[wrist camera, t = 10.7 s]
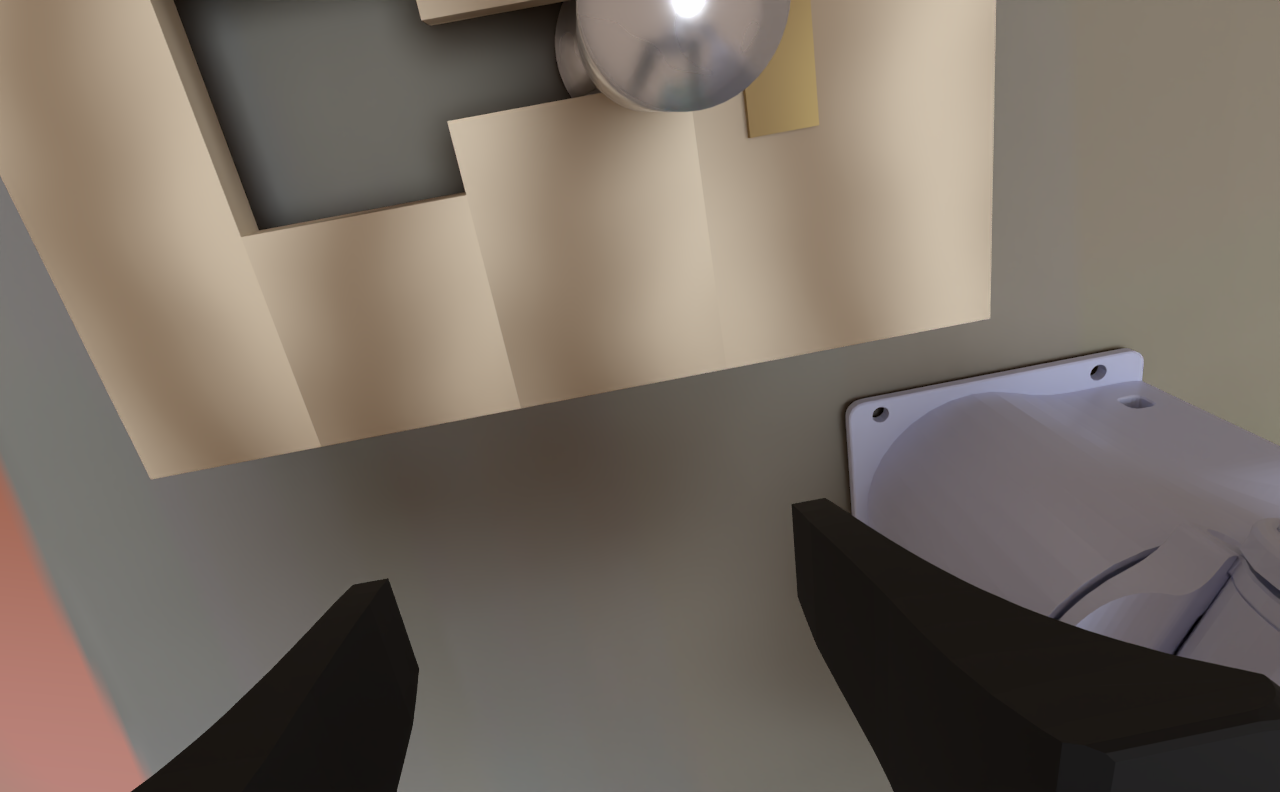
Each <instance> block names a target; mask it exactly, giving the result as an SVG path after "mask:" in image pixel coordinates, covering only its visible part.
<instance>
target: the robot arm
mask: <svg viewBox="0 0 1280 792" xmlns="http://www.w3.org/2000/svg"><path fill="white" fill-rule="evenodd" d="M1097 365H1098V369H1097V371H1096V372H1095V373H1094V374H1093V375H1091V376H1090V373H1091V370H1092V369H1093V368H1094V367H1095V366H1097ZM1143 366H1144V360H1143V357H1142V355H1141V354H1140V353H1138V352H1136V351H1134V350H1132V349H1129V348H1122V349H1117V350H1112V351H1106V352H1101V353H1096V354H1091V355H1086V356H1081V357H1075V358H1070V359H1065V360H1060V361H1055V362H1050V363H1044V364H1039V365H1034V366H1029V367H1024V368H1018V369H1013V370H1008V371H1003V372H998V373H993V374H987V375H982V376H977V377H972V378H967V379H961V380H956V381H951V382H946V383H941V384H936V385H930V386H925V387H920V388H915V389H910V390H905V391H899V392H894V393H889V394H884V395H879V396H873V397H868V398H863V399H859V400H856V401H854V402H853V403H852V404H850V405H849V407H848V409H847V410H846V416H845V417H846V432H847V447H848V462H849V478H850V493H851V508H852V515H851V514H849V513H848V512H846V511H845V510H843V509H842V508H840V507H839V506H837V505H835V504H834V503H832V502H831V501H829V500H827V499H826V498H823V499H817V500H812V501H806V502H801V503H795V504H792V517H793V532H794V547H795V563H796V578H797V593H798V598H799V601H800V604H801V606H802V609H803V612H804V614H805V617H806V620H807V622H808V625H809V627H810V630H811V632H812V635H813V637H814V640H815V642H816V645H817V647H818V649H819V651H820V653H821V654H822V656H823V658H824V660H825V662H826V664H827V666H828V668H829V669H830V671H831V673H832V675H833V677H834V679H835V681H836V682H837V684H838V686H839V688H840V690H841V692H842V693H843V695H844V697H845V699H846V701H847V702H848V704H849V706H850V708H851V710H852V712H853V713H854V715H855V717H856V719H857V721H858V723H859V724H860V726H861V728H862V730H863V732H864V734H865V735H866V737H867V739H868V741H869V743H870V745H871V746H872V748H873V750H874V752H875V754H876V756H877V758H878V760H879V762H880V764H881V766H882V768H883V770H884V772H885V774H886V776H887V778H888V780H889V782H890V784H891V787H892V789H893V791H894V792H1280V446H1278V445H1276V444H1274V443H1272V442H1270V441H1268V440H1266V439H1264V438H1262V437H1259V436H1257V435H1255V434H1253V433H1251V432H1249V431H1247V430H1245V429H1242V428H1240V427H1238V426H1236V425H1234V424H1232V423H1230V422H1228V421H1226V420H1223V419H1221V418H1219V417H1217V416H1215V415H1213V414H1211V413H1209V412H1206V411H1204V410H1202V409H1200V408H1198V407H1196V406H1194V405H1192V404H1190V403H1187V402H1185V401H1183V400H1181V399H1179V398H1177V397H1175V396H1173V395H1170V394H1168V393H1166V392H1164V391H1162V390H1160V389H1158V388H1156V387H1154V386H1151V385H1149V384H1147V383H1145V382H1143V381H1142V375H1143ZM879 407H884V410H883V413H882V414H881V415H880V416H878V417H872V415H873V412H874V411H875V410H876V409H877V408H879ZM418 674H419V667H418V664H417V661H416V658H415V656H414V653H413V650H412V647H411V644H410V641H409V638H408V635H407V632H406V629H405V626H404V623H403V620H402V617H401V614H400V612H399V609H398V606H397V603H396V600H395V597H394V594H393V591H392V588H391V585H390V582H389V579H383V580H377V581H372V582H366V583H361V584H355V585H353V586H352V587H350V588H349V589H348V590H347V591H346V592H345V593H344V594H343V595H342V596H341V597H340V598H339V599H338V600H337V601H336V602H335V603H334V604H333V605H332V606H331V607H330V609H329V610H328V611H327V612H326V613H325V614H324V615H323V616H322V617H321V618H320V619H319V620H318V621H317V622H316V623H315V624H314V626H313V627H312V628H311V629H310V630H309V631H308V632H307V633H306V634H305V635H304V636H303V637H302V638H301V639H300V640H299V641H298V642H297V643H296V644H295V645H294V647H293V648H292V649H291V650H290V651H289V652H288V653H287V654H286V655H285V656H284V657H283V658H282V659H281V660H280V661H279V662H278V663H277V664H276V665H275V666H274V667H273V668H272V669H271V670H270V671H269V672H268V673H267V674H266V675H265V676H264V677H263V678H262V679H261V680H260V681H259V682H258V683H257V684H256V685H255V686H254V687H253V688H252V689H251V690H250V691H249V692H248V693H247V694H245V695H244V696H243V697H242V698H241V699H240V700H239V701H238V702H237V703H236V704H235V705H234V706H233V707H232V708H231V709H230V710H229V711H228V712H227V713H226V714H225V715H224V716H223V717H221V718H220V719H219V720H218V721H217V722H216V723H215V724H214V725H213V726H211V727H210V728H209V729H208V730H207V731H206V732H205V733H203V734H202V735H201V736H200V737H199V738H198V739H197V740H195V741H194V742H193V743H192V744H191V745H189V746H188V747H187V748H186V749H185V750H183V751H182V752H181V753H180V754H179V755H177V756H176V757H175V758H174V759H173V760H171V761H170V762H169V763H168V764H167V765H165V766H164V767H163V768H162V769H160V770H159V771H158V772H157V773H155V774H154V775H153V776H152V777H150V778H149V779H148V780H146V781H145V782H143V783H142V784H141V785H139V786H138V787H137V788H135V789H134V790H133V791H131V792H397V788H398V784H399V780H400V776H401V772H402V768H403V764H404V759H405V755H406V751H407V747H408V743H409V739H410V735H411V730H412V726H413V719H414V711H415V703H416V694H417V684H418Z"/></svg>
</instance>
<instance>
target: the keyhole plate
mask: <svg viewBox="0 0 1280 792" xmlns="http://www.w3.org/2000/svg"><path fill="white" fill-rule="evenodd" d="M563 1H569V0H416V2H417V5H418V9H419V13H420V17H421V21H423V22H425V23H426V24H428V25H430V26H432V25H438V24H443V23H449V22H454V21H460V20H465V19H470V18H476V17H481V16H487V15H492V14H498V13H503V12H509V11H514V10H520V9H525V8H531V7H536V6H542V5H547V4H552V3H558V2H563ZM995 30H996V0H791V2H790V10H789V15H788V20H787V24H786V27H785V30H784V33H783V36H782V39H781V41H780V43H779V45H778V48H777V50H776V52H775V54H774V55H773V57H772V59H771V60H770V62H769V63H768V65H767V66H766V68H765V69H764V70H763V71H762V73H761V74H760V75H759V76H758V77H757V78H756V79H755V80H754V81H753V82H752V83H751V84H750V85H749V86H748V87H747V88H746V89H744V90H743V91H742V92H740V93H739V94H738V95H736V96H735V97H733V98H731V99H729V100H728V101H726V102H724V103H721V104H719V105H716V106H714V107H711V108H707V109H703V110H699V111H689V112H640V111H634V110H631V109H628V108H625V107H623V106H621V105H618V104H616V103H615V102H613V101H612V100H610V99H609V98H607V97H606V96H605V95H604V94H603V93H597V94H592V95H586V96H581V97H575V98H570V99H565V100H559V101H554V102H548V103H543V104H538V105H532V106H527V107H521V108H516V109H511V110H505V111H500V112H494V113H489V114H484V115H478V116H473V117H467V118H462V119H457V120H451V121H447V122H448V126H449V130H450V134H451V138H452V142H453V146H454V149H455V153H456V157H457V161H458V165H459V169H460V173H461V177H462V181H463V185H464V188H465V192H462V193H457V194H452V195H446V196H441V197H436V198H430V199H425V200H420V201H414V202H409V203H404V204H398V205H393V206H388V207H382V208H377V209H371V210H366V211H361V212H355V213H350V214H345V215H339V216H334V217H329V218H323V219H318V220H313V221H307V222H302V223H296V224H291V225H286V226H280V227H275V228H270V229H264V230H259V229H258V226H257V224H256V221H255V218H254V216H253V213H252V210H251V208H250V205H249V202H248V199H247V197H246V194H245V191H244V189H243V186H242V183H241V181H240V178H239V175H238V173H237V170H236V167H235V165H234V162H233V159H232V156H231V154H230V151H229V148H228V146H227V143H226V140H225V138H224V135H223V132H222V130H221V127H220V124H219V122H218V119H217V116H216V113H215V111H214V108H213V105H212V103H211V100H210V97H209V95H208V92H207V89H206V87H205V84H204V81H203V79H202V76H201V73H200V70H199V68H198V65H197V62H196V60H195V57H194V54H193V52H192V49H191V46H190V44H189V41H188V38H187V36H186V33H185V30H184V27H183V25H182V22H181V19H180V17H179V14H178V11H177V9H176V6H175V3H174V1H173V0H0V176H1V178H2V180H3V182H4V184H5V186H6V188H7V190H8V192H9V194H10V196H11V198H12V200H13V202H14V204H15V206H16V208H17V210H18V212H19V214H20V216H21V218H22V220H23V222H24V224H25V226H26V228H27V230H28V232H29V234H30V237H31V239H32V241H33V243H34V245H35V247H36V249H37V251H38V253H39V255H40V257H41V259H42V261H43V263H44V265H45V267H46V269H47V271H48V273H49V275H50V277H51V279H52V281H53V283H54V285H55V287H56V289H57V291H58V293H59V295H60V297H61V299H62V301H63V303H64V305H65V307H66V309H67V311H68V313H69V315H70V317H71V319H72V321H73V323H74V325H75V327H76V329H77V331H78V333H79V335H80V337H81V339H82V341H83V343H84V345H85V347H86V350H87V352H88V354H89V356H90V358H91V360H92V362H93V364H94V366H95V368H96V370H97V372H98V374H99V376H100V378H101V380H102V382H103V384H104V386H105V388H106V390H107V392H108V394H109V396H110V398H111V400H112V402H113V404H114V406H115V408H116V410H117V412H118V414H119V416H120V418H121V420H122V422H123V424H124V426H125V428H126V430H127V432H128V434H129V436H130V438H131V440H132V442H133V444H134V446H135V448H136V450H137V452H138V454H139V456H140V458H141V461H142V463H143V465H144V467H145V469H146V471H147V473H148V475H149V477H150V479H156V478H161V477H166V476H172V475H177V474H182V473H187V472H192V471H198V470H203V469H208V468H213V467H218V466H224V465H229V464H234V463H239V462H245V461H250V460H255V459H260V458H265V457H271V456H276V455H281V454H286V453H291V452H297V451H302V450H307V449H312V448H317V447H323V446H328V445H333V444H338V443H344V442H349V441H354V440H359V439H364V438H370V437H375V436H380V435H385V434H390V433H396V432H401V431H406V430H411V429H417V428H422V427H427V426H432V425H437V424H443V423H448V422H453V421H458V420H463V419H469V418H474V417H479V416H484V415H489V414H495V413H500V412H505V411H510V410H516V409H521V408H526V407H531V406H536V405H542V404H547V403H552V402H557V401H562V400H568V399H573V398H578V397H583V396H589V395H594V394H599V393H604V392H609V391H615V390H620V389H625V388H630V387H635V386H641V385H646V384H651V383H656V382H662V381H667V380H672V379H677V378H682V377H688V376H693V375H698V374H703V373H708V372H714V371H719V370H724V369H729V368H734V367H740V366H745V365H750V364H755V363H761V362H766V361H771V360H776V359H781V358H787V357H792V356H797V355H802V354H807V353H813V352H818V351H823V350H828V349H834V348H839V347H844V346H849V345H854V344H860V343H865V342H870V341H875V340H880V339H886V338H891V337H896V336H901V335H906V334H912V333H917V332H922V331H927V330H933V329H938V328H943V327H948V326H953V325H959V324H964V323H969V322H974V321H979V320H985V319H990V301H991V247H992V193H993V138H994V84H995Z"/></svg>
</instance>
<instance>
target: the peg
mask: <svg viewBox="0 0 1280 792" xmlns="http://www.w3.org/2000/svg"><path fill="white" fill-rule="evenodd" d="M790 2H791V0H569V1H564V2H563V4H562V7H561V9H560V12H559V16H558V20H557V24H556V32H555V52H556V60H557V64H558V68H559V72H560V75H561V78H562V80H563V83H564V85H565V87H566V89H567V91H568V93H569V95H570V96H571V97H572V98H575V97H581V96H586V95H592V94H597V93H603V94H604V95H605V96H606V97H607V98H609V99H610V100H612V101H613V102H615V103H616V104H618V105H621V106H623V107H625V108H628V109H631V110H634V111H640V112H689V111H699V110H703V109H707V108H711V107H714V106H716V105H719V104H721V103H724V102H726V101H728V100H729V99H731V98H733V97H735V96H736V95H738V94H739V93H740V92H742V91H743V90H744V89H746V88H747V87H748V86H749V85H750V84H751V83H752V82H753V81H754V80H755V79H756V78H757V77H758V76H759V75H760V74H761V73H762V71H763V70H764V69H765V68H766V66H767V65H768V63H769V62H770V60H771V59H772V57H773V55H774V54H775V52H776V50H777V48H778V45H779V43H780V41H781V39H782V36H783V33H784V30H785V27H786V24H787V20H788V15H789V10H790Z"/></svg>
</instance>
